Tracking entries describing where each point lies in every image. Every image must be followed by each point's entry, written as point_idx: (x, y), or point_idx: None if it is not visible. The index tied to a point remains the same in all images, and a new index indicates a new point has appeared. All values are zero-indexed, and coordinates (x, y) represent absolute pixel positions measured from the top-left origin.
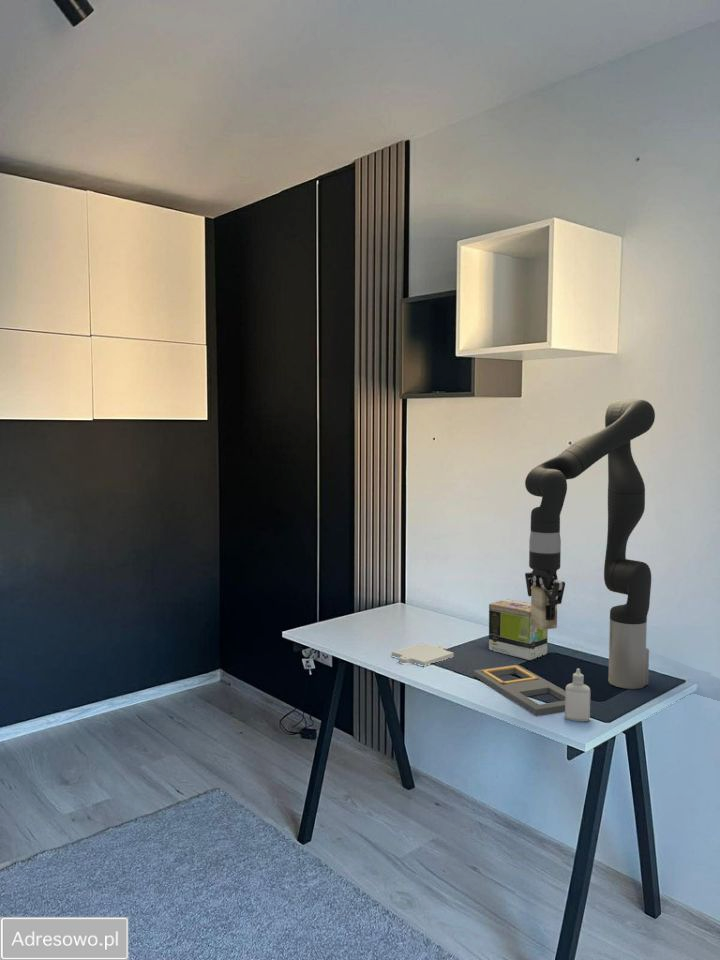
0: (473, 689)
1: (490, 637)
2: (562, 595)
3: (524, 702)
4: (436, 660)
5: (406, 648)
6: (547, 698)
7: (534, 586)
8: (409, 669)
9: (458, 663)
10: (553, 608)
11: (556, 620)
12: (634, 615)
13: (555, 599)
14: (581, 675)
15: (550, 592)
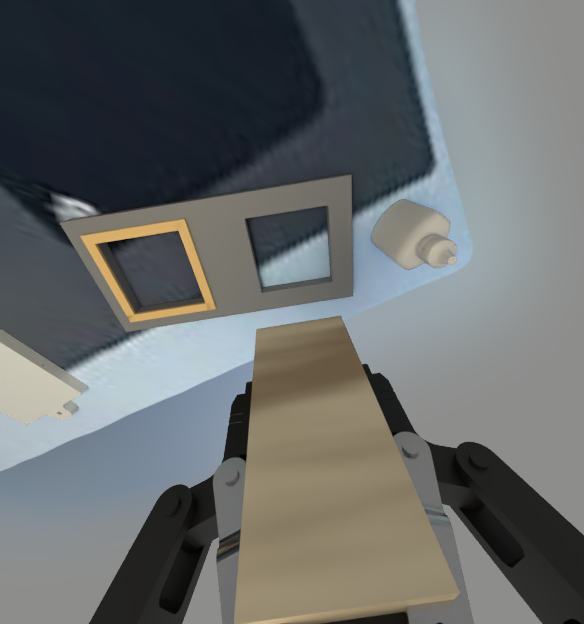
0: (209, 344)
1: None
2: (569, 526)
3: (314, 301)
4: (51, 368)
5: None
6: (275, 233)
7: None
8: (104, 404)
9: (46, 330)
10: (403, 425)
11: (349, 339)
12: None
13: (481, 502)
14: (455, 251)
15: None
